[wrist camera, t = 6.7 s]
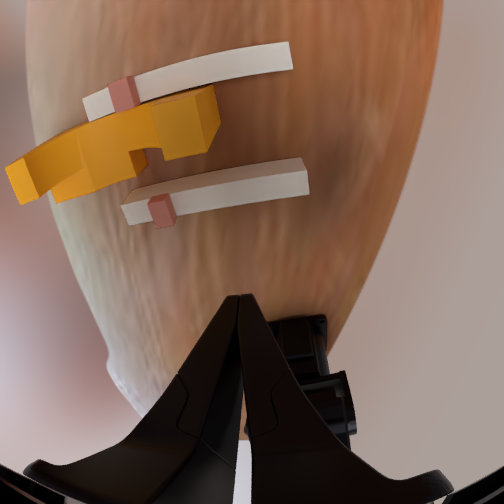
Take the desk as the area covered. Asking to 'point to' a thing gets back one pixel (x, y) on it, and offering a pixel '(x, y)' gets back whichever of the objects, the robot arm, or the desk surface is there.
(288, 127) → the desk surface
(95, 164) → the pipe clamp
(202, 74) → the guide channel
